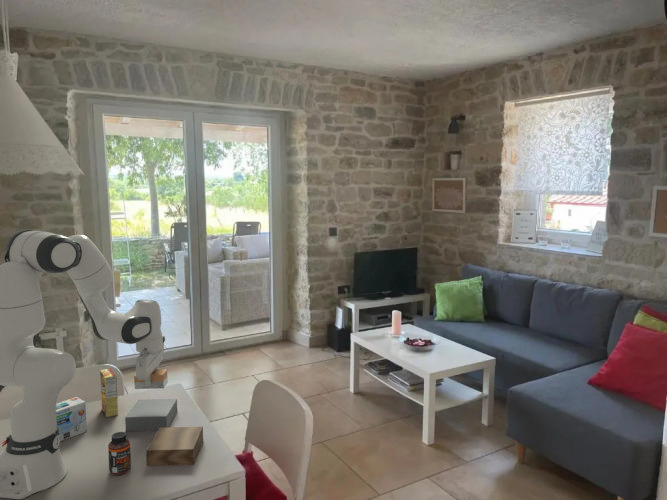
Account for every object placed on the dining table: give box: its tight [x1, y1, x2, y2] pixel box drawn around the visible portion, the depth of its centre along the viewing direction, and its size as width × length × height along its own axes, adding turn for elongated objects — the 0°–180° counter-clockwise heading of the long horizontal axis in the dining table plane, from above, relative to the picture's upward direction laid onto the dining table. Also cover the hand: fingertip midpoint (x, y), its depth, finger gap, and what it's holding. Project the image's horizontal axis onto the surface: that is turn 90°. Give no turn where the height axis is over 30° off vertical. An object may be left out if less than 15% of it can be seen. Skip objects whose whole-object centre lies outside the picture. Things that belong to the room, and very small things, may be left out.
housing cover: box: [133, 368, 168, 383], centre depth 173 cm, size 10×5×4 cm, turn 94°
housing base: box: [133, 376, 169, 390], centre depth 173 cm, size 10×5×2 cm, turn 93°
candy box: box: [99, 368, 119, 418], centre depth 181 cm, size 9×4×15 cm, turn 37°
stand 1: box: [124, 398, 178, 432], centre depth 175 cm, size 14×14×5 cm
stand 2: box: [145, 426, 204, 467], centre depth 154 cm, size 14×14×5 cm
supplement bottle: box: [107, 431, 132, 476], centre depth 144 cm, size 6×6×11 cm
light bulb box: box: [56, 396, 88, 442], centre depth 165 cm, size 11×7×11 cm, turn 143°
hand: (151, 381), depth 173 cm, fingers closed on housing base, housing cover, 5 cm apart
